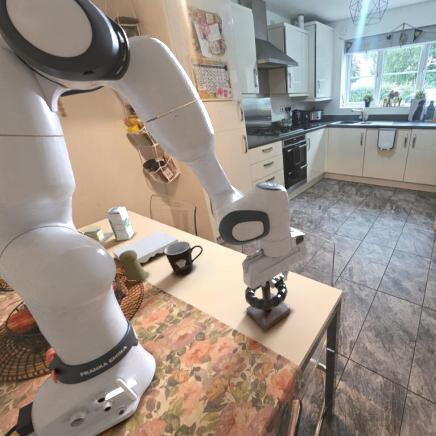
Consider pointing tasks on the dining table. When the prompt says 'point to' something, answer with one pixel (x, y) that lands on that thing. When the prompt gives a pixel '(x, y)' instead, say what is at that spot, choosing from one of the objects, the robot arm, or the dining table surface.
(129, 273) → the olive flared cylinder
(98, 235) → the stacked layers on plate
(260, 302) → the ring
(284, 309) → the peg stand
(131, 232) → the syrup box
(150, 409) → the dining table surface
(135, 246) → the food packaging
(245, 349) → the dining table surface
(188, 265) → the coffee mug
